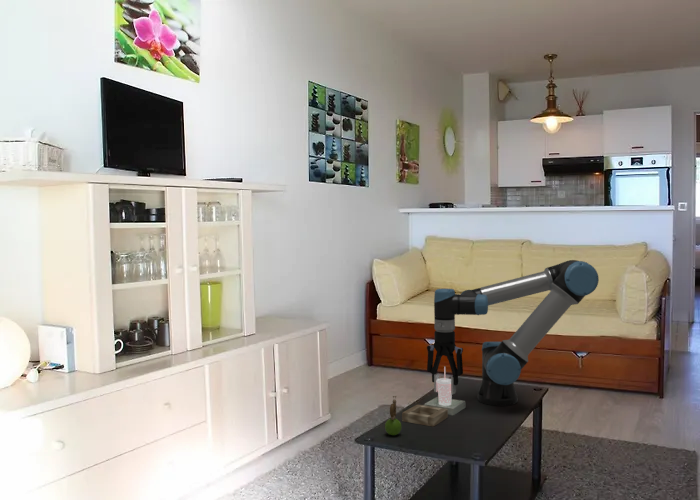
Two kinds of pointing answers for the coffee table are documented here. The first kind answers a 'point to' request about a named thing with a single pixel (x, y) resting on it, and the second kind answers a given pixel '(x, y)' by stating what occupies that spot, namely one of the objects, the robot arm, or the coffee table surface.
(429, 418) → the socket holder
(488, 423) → the coffee table surface
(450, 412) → the tray
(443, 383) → the beverage cup
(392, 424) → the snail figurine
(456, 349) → the robot arm
